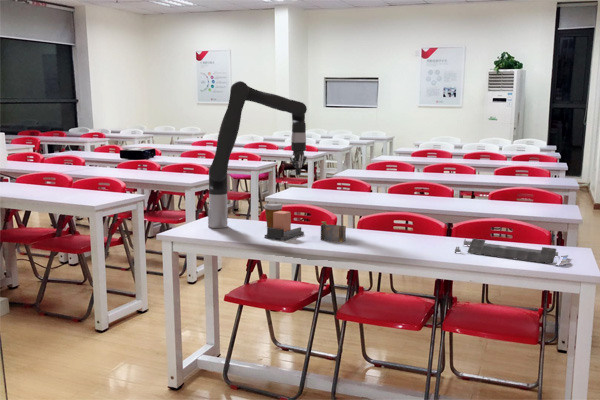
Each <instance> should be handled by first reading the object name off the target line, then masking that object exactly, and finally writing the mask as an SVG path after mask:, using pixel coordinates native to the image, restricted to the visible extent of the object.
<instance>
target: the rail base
mask: <svg viewBox="0 0 600 400" xmlns="http://www.w3.org/2000/svg"><path fill="white" fill-rule="evenodd" d="M303 235H305V231H303V230H302V226H299V227H296V228H291V230H288V231H285V232H284V229H279V228H271V227H269V228H268V227H266V234H264V239H269V240H276V241H283V242H284V241H288V240H291V239H294V238H297V237H301V236H303Z"/></svg>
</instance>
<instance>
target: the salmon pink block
mask: <svg viewBox="0 0 600 400" xmlns="http://www.w3.org/2000/svg"><path fill="white" fill-rule="evenodd" d="M291 215H292V212H291V211H285V210H281V211H277V212H273V228H279V229H284V232H285V231H288V230H292V227H291V226H292V221H291V219H292V218H291V217H292V216H291Z"/></svg>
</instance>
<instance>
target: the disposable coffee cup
mask: <svg viewBox="0 0 600 400" xmlns="http://www.w3.org/2000/svg"><path fill="white" fill-rule="evenodd" d="M263 207H264V210H265V220H266V221H265V222H266V228H269V227H271V228H273V212H277V211H283V210H282V209H283V205H282V203H279V202H269V203H268V202H267V203H264V206H263Z"/></svg>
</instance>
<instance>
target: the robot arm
mask: <svg viewBox="0 0 600 400" xmlns="http://www.w3.org/2000/svg"><path fill="white" fill-rule="evenodd" d="M229 92H230V93H229V100H228V104H227V108H226V110H225V113H224V116H223V118H222V121H221V124H220V128H219V131H218V134H217V141H216V150H215V154H214V157H213V160H212V163H211V165H210V166H209V168H208V200H209V201H208V202H209V203H208V208H207V209H208V210H207V219H208V220H207V224H208V228H212V229H224V228H227V227H228V170H229V162H230V157H231V154H232V152H233V150H234V146H235V144H236V141H237V137H238V134H239V131H240V126H241V120H242V119H241V118H242V112H243V109H244V105H245V102H246V101H247V102H252V103H255V104H259V105H263V106H265V107H268V108H271V109H274V110H277V111H281V112H286V113H289V114H291V121H292V122H291V140H290V141H291V145H290V149H291V150H290V151H292V156H291V157H290V158H289V160H290V162H291V165H292V166H293V167H294V168H295V175H296V176H301V175H302V167H304V165H305V163H306V160H307V156H306V155H305V151H306V150H307V135H306V134H307V133H306V128H307V126H306V113H307V111H308V109H307V105H306V104H305V103H304V102H301V101H299V100H294V99H289V98H287V97H285V96H282V95H277V94H274V93H272V92H271V93H270V92H265V91H262V90H258V89H255V88H253V87H251V86H249V85H248V84H247V83H245V82H244V81H241V80H240V81H235V82H234V83H233V84H231V86H230V91H229Z"/></svg>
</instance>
